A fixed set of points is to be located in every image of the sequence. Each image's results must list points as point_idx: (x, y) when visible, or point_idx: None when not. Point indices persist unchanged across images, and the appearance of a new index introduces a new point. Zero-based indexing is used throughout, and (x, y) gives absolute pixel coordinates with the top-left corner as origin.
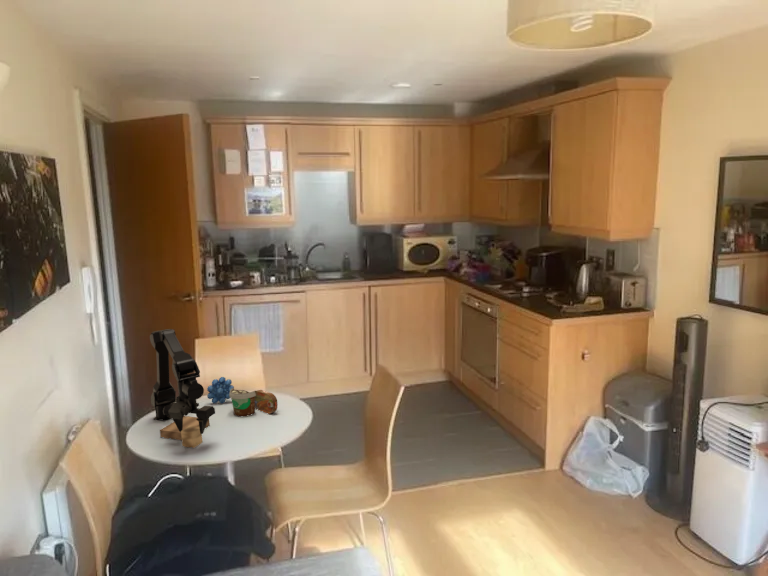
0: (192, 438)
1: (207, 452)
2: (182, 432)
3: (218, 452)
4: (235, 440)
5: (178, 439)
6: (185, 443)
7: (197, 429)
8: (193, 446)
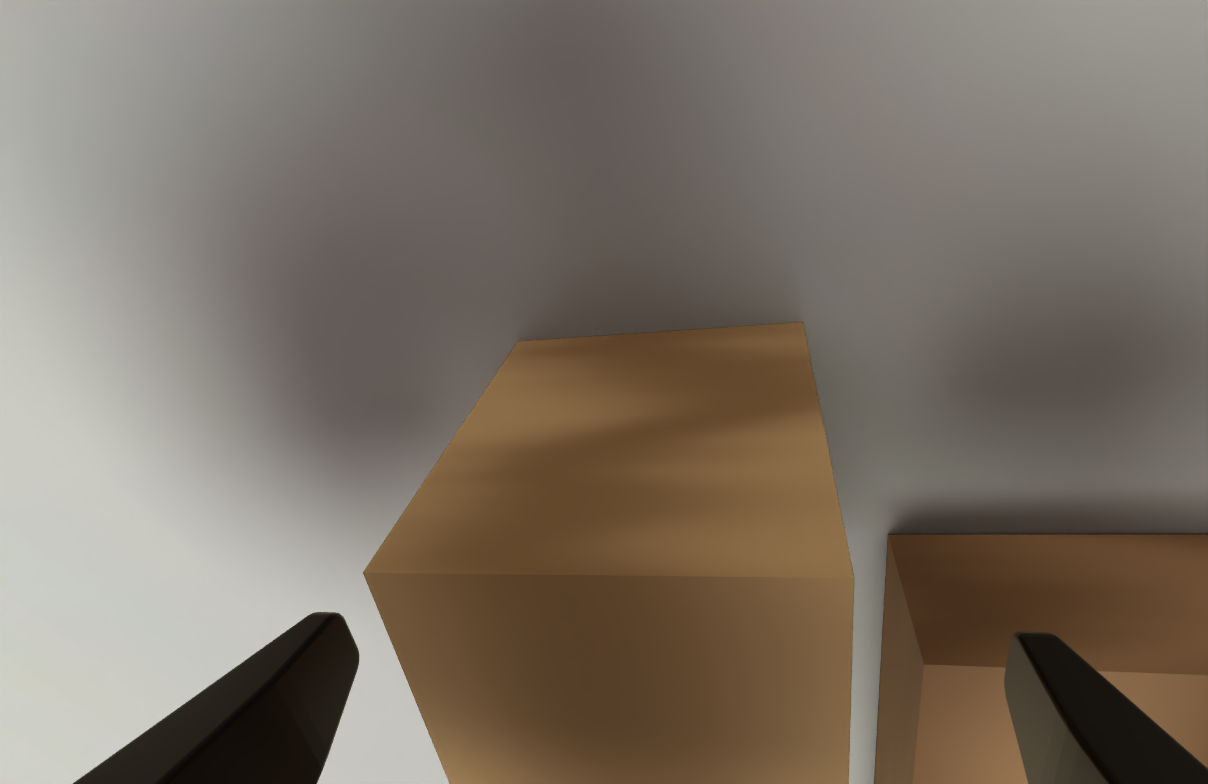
0: (460, 450)
1: (142, 269)
2: (777, 544)
3: (9, 328)
4: (197, 660)
5: (1121, 537)
6: (714, 362)
7: (441, 737)
8: (519, 352)
